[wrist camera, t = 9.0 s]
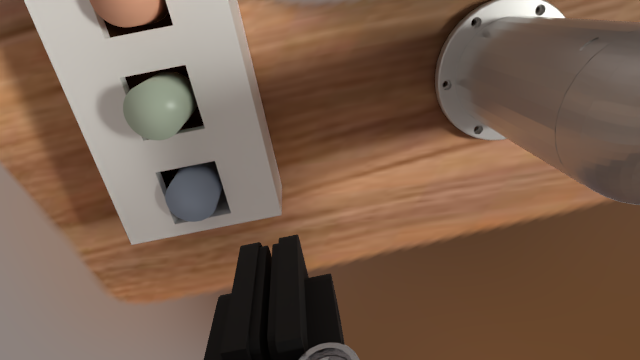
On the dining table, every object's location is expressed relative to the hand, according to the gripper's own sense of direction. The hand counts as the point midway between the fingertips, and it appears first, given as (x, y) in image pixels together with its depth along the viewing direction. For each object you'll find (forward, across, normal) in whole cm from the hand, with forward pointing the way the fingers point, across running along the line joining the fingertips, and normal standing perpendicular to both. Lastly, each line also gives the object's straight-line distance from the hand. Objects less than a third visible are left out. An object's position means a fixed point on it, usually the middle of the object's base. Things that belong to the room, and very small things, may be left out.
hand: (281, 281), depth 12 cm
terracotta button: (+25, +9, -10) cm, 28 cm away
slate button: (+25, +9, +5) cm, 27 cm away
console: (+27, +9, -2) cm, 28 cm away
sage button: (+23, +9, -2) cm, 25 cm away
